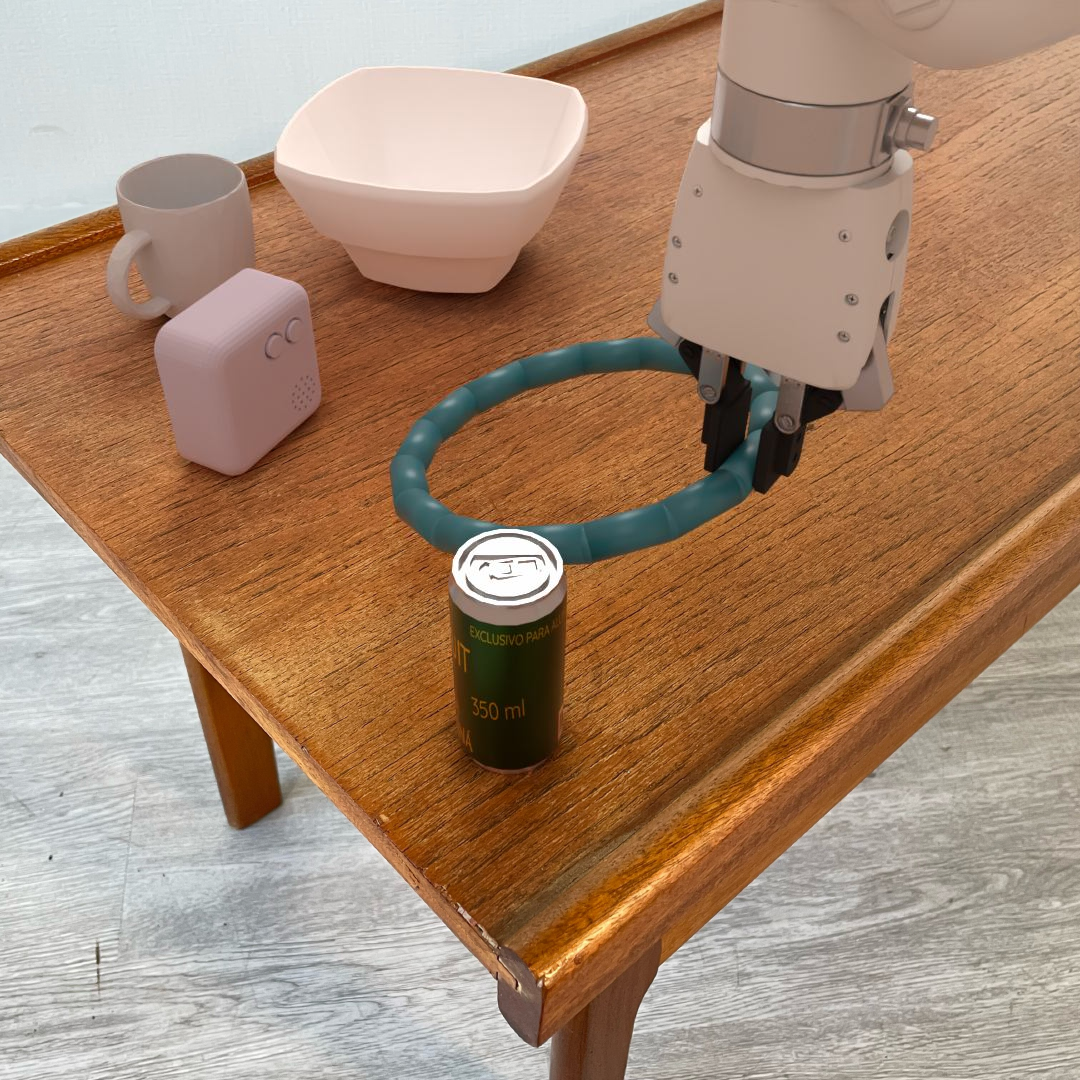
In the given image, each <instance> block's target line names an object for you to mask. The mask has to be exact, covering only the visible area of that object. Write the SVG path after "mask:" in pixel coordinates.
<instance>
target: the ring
mask: <svg viewBox="0 0 1080 1080" xmlns="http://www.w3.org/2000/svg"><path fill="white" fill-rule="evenodd" d="M634 371H654V372H660V373H668V374H669V373H670V374H678V375H686V376H694V375H693V374H692V372H691V371H690V369H689V368H688V366H687V365H686V363H685V362H684V360H683V359H682V357H681V356H680V354H679V350H678V348H677V347H675V348H674V347H672V346H671V345H670V344H669V343H667V342H666V341H665V340H664V339H663V338H661V337H655V336H636V337H628V338H617V339H605V340H597V341H586V342H579V343H578V342H577V343H575V344H571V345H568V346H564V347H560V348H557V349H553V350H549V351H546V352H541V353H538V354H534V355H531V356H527V357H523V358H519V359H516V360H513V361H511V362H510V363H508V364H505V365H503V366H500V367H498V368H497V369H495V370H492V371H490V372H488V373H486V374H484V375H482V376H480V377H477V378H475V379H474V380H470V381H468V382H467V383H465V384H463V385H460V386H458V387H457V388H456V389H455V390H453V391H452V392H450V394H448V395H447V396H445V397H444V399H442V400H441V401H440V402H438V403H437V404H436V405H435V406H433V407H432V408H431V409H429V410H428V411H427V412H425V413H424V414H423V415H422V416H421V417H419V418H418V419H417V420H415V421H414V423H412V426H411V427H410V429H409V430H408V432H407V434H406V436H405V437H404V439H403V441H402V443H401V444H400V446H399V448H398V450H397V451H396V453H395V454H394V457H393V458H392V460H391V462H390V464H389V468H388V469H389V470H388V473H389V479H390V488H391V495H392V501H393V502H392V503H393V508H394V512H395V514H396V516H397V517H398V518H399V520H401V521H402V522H403V523H405V524H406V525H407V526H408V527H409V528H410V529H411V530H413V531H414V532H415V533H416V534H417V535H419V536H420V537H421V538H422V539H424V540H425V541H426V542H427V543H428V544H429V545H431V546H432V547H433V548H434V549H436V550H437V551H440V552H442V553H446V554H450V555H454V556H456V554H457V552H458V550H459V549H460V548H461V547H462V546H463V545H464V544H465V543H466V542H468V541H469V540H470V539H472V538H474V537H476V536H478V535H480V534H482V533H485V532H490V531H495V530H499V529H517V530H522V531H526V532H531V533H534V534H536V535H538V536H540V537H542V538H544V539H546V540H548V541H549V542H550V543H551V544H552V545H553V546H554V547H555V548H556V549H557V551H558V553H559V555H560V557H561V559H562V566H580V565H581V566H583V565H592V564H596V563H599V562H602V561H603V562H604V561H606V560H611V559H614V558H618V557H621V556H625V555H628V554H632V553H635V552H639V551H643V550H646V549H650V548H654V547H658V546H661V545H665V544H668V543H671V542H674V541H676V540H678V539H681V538H682V537H684V536H685V535H687V534H689V533H691V532H692V531H695V530H696V529H698V528H700V527H702V526H703V525H705V524H706V523H709V522H710V521H713V520H714V519H715V518H717V517H719V516H721V515H723V514H725V513H726V512H729V511H730V510H731V509H733V508H735V507H737V506H739V505H740V504H742V503H743V502H744V501H745V500H746V499H747V498H748V497H749V496H750V495H751V493H752V492H753V491H754V487H752V481H753V475H754V469H755V463H756V457H757V451H758V445H759V439H760V434H761V430H762V428H763V426H764V425H765V424H766V423H767V422H768V421H769V420H770V418H771V417H772V416H773V412H774V410H775V409H776V405H777V399H778V393H779V388H778V387H777V386H776V385H775V384H774V382H773V381H772V380H771V379H770V377H769V376H768V375H767V374H766V372H765V371H764V370H763V369H762V368H761V367H758V366H756V365H753V364H750V363H747V362H746V368H745V372H744V375H743V377H744V378H745V379H748V380H750V381H751V385H750V387H752V389H753V390H752V396H751V402H750V409H749V416H748V423H747V429H746V436H745V440H744V441H743V442H742V443H741V444H740V445H739V446H738V447H737V449H736V450H735V451H734V452H733V453H732V454H731V455H730V456H729V457H728V458H727V460H726V461H725V462H724V463H723V464H722V465H721V466H720V467H719V468H718V469H717V471H715V472H713V473H710V474H707V475H705V476H704V477H702V478H700V479H699V480H697V481H695V482H693V483H691V484H689V485H688V486H686V487H684V488H682V489H680V490H679V491H676V492H674V493H673V494H671V495H669V496H667V497H666V498H664V499H662V500H660V501H658V502H654V503H652V504H648V505H645V506H644V505H643V506H640V507H637V508H632V509H630V510H629V509H628V510H626V511H622V512H619V513H615V514H611V515H608V516H605V517H601V518H597V519H593V520H589V521H585V522H579V523H578V522H577V523H561V524H559V523H558V524H538V525H519V526H518V525H517V526H508V525H504V524H499V523H495V522H490V521H487V520H483V519H482V520H481V519H477V518H473V517H468V516H463V515H458V514H456V513H455V512H453V511H452V510H451V509H449V508H448V507H447V506H446V505H444V504H443V503H441V502H440V501H439V500H438V499H436V498H435V497H434V496H433V495H431V493H430V487H429V483H428V478H427V477H428V476H427V472H428V470H429V468H430V466H431V464H432V462H433V461H434V459H435V457H436V455H437V453H438V451H439V450H440V447H441V446H442V445H443V444H444V443H445V442H446V441H447V440H449V439H451V437H452V436H453V435H455V434H457V432H458V431H460V430H461V429H462V428H463V427H465V426H466V425H468V423H469V422H470V421H472V420H473V419H474V418H475V417H477V416H478V415H480V414H482V413H485V412H486V411H488V410H491V409H493V408H495V407H497V406H499V405H501V404H503V403H505V402H508V401H509V400H511V399H513V398H516V397H518V396H520V395H521V394H524V393H527V392H528V391H532V390H536V389H539V388H543V387H547V386H550V385H555V384H558V383H561V382H566V381H569V380H573V379H576V378H580V377H584V376H589V375H600V374H601V375H603V374H613V373H625V372H634Z"/></svg>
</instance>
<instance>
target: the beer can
mask: <svg viewBox="0 0 1080 1080" xmlns="http://www.w3.org/2000/svg"><path fill="white" fill-rule="evenodd" d="M447 592H448V593H447V594H448V606H449V607H448V609H449V624H450V625H449V626H450V627H449V628H450V642H451V658H452V659H451V660H452V673H453V674H452V677H453V691H454V693H453V694H454V708H455V709H454V710H455V725H456V735H457V738H458V741H459V744H460V746H461V748H462V749H463V750H464V751H465V752H466V754H467V755H468V757H470V758H471V759H472V760H473V762H474V763H475V764H476V765H479V766H480V767H482V768H483V769H485V770H487V771H489V772H493V773H497V774H500V775H518V774H522V773H527V772H529V771H532V770H534V769H536V768H537V767H539V766H541V765H543V764H544V763H545V762H546V760H547V759H548V758H549V757H550V756H551V755H552V754H553V753H554V752H555V751H556V749H557V748H558V747H559V744H560V741H561V739H562V736H563V730H564V703H565V701H564V699H565V671H566V670H565V667H566V641H567V640H566V639H567V611H568V610H567V608H568V606H567V605H568V575H567V573H566V571H565V569H564V566H563V565H562V559H561V557H560V555H559V553H558V551H557V549H556V548H555V547H554V546H553V545H552V544H551V543H550V542H549V541H548V540H546V539H544V538H542V537H540V536H538V535H536V534H534V533H531V532H526V531H522V530H517V529H499V530H495V531H490V532H485V533H482V534H480V535H478V536H476V537H474V538H472V539H470V540H469V541H468V542H466V543H465V544H464V545H463V546H462V547H461V548H460V549H459V550H458V552H457V554H456V555H454V558H453V559H452V569H451V571H450V573H449V574H448V586H447Z"/></svg>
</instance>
